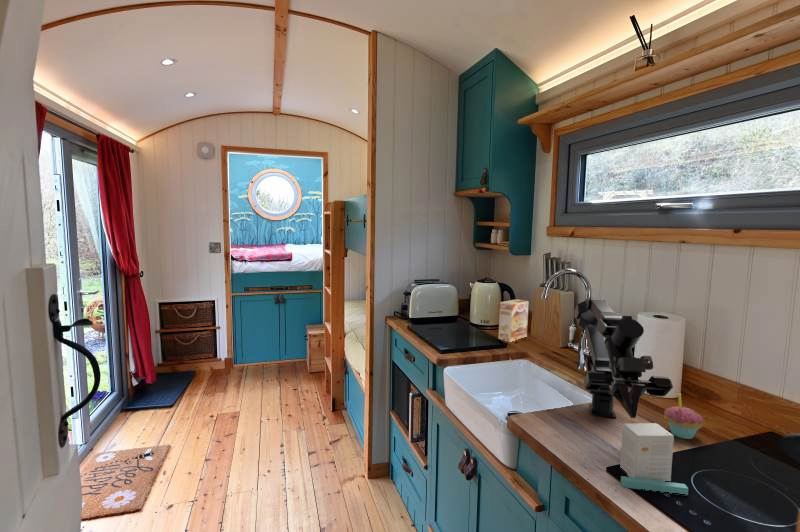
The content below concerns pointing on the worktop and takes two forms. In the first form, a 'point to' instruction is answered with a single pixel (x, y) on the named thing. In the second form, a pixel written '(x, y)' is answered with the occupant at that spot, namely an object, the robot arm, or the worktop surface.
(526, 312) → the coffeecake box
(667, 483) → the teal batten
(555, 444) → the worktop surface
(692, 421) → the cupcake
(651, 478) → the small box
